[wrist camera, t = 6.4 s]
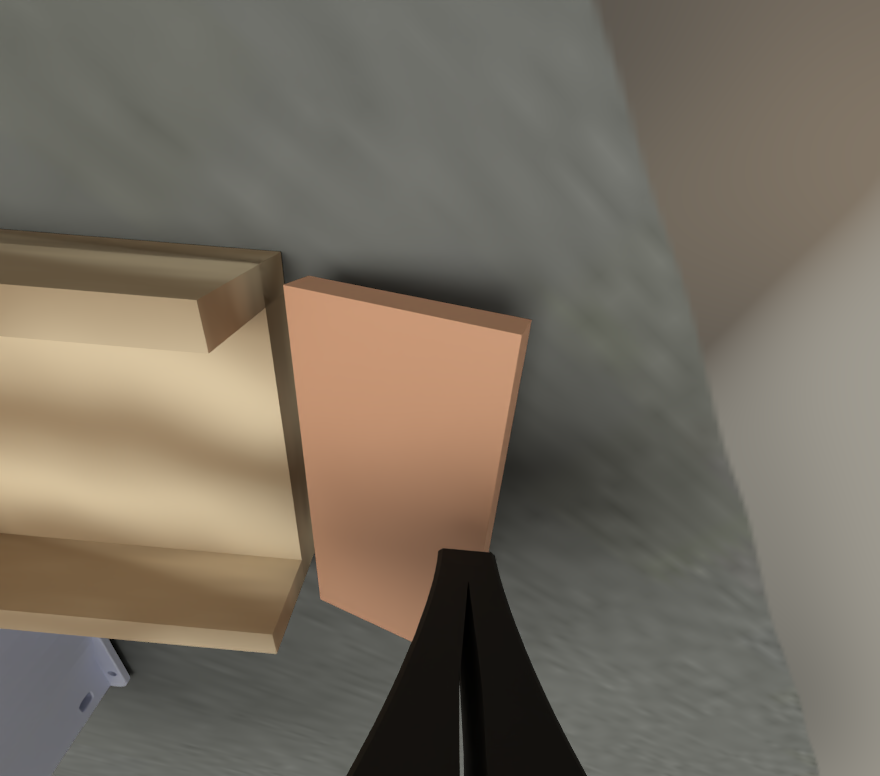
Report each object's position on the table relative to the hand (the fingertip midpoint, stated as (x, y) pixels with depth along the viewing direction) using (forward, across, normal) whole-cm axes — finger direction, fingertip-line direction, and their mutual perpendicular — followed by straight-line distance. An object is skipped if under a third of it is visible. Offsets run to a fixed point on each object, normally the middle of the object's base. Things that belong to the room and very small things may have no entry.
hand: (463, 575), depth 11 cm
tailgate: (+4, +5, 0) cm, 6 cm away
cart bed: (+6, +13, 0) cm, 14 cm away
